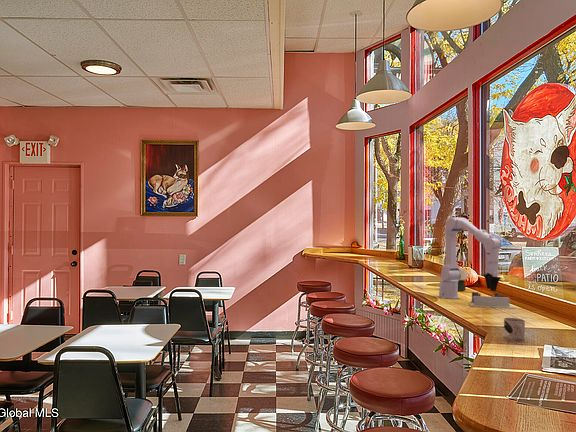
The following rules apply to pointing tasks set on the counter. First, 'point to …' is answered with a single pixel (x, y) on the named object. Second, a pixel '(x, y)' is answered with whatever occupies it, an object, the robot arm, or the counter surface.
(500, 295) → the post right
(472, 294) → the brown boxy piece
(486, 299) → the rail
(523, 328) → the mug
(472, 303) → the mat
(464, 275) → the character mug
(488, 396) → the counter surface
